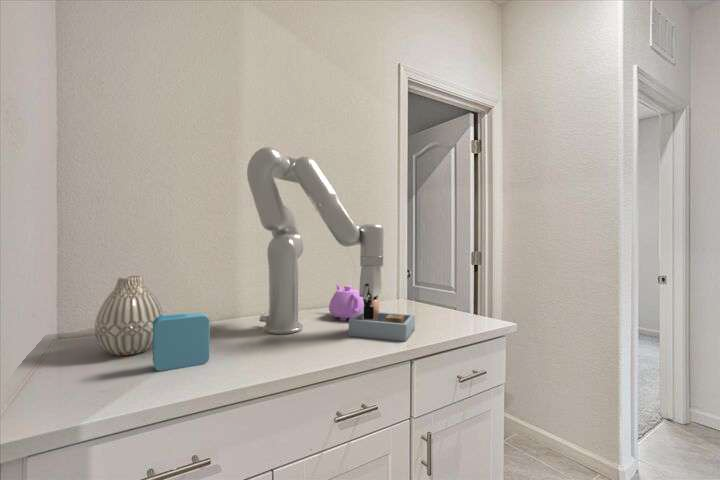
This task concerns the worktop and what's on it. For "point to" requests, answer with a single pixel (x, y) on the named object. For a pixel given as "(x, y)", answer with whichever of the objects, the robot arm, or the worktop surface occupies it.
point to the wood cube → (395, 318)
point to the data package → (180, 341)
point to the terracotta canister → (375, 310)
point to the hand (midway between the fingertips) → (371, 316)
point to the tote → (382, 327)
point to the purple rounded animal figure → (346, 303)
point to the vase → (127, 317)
